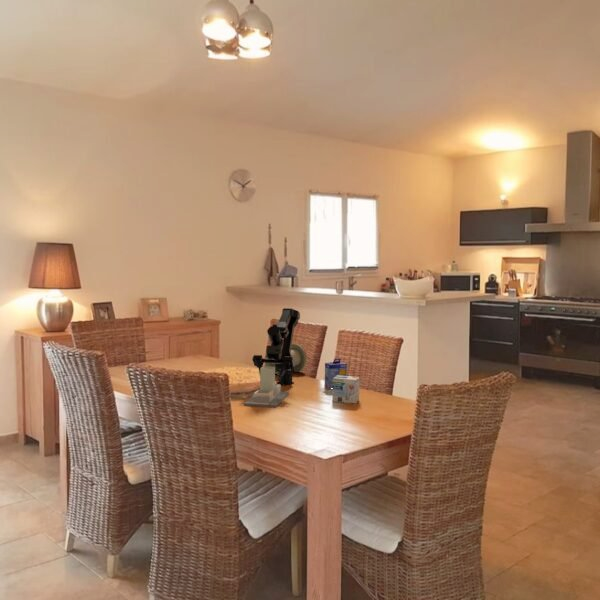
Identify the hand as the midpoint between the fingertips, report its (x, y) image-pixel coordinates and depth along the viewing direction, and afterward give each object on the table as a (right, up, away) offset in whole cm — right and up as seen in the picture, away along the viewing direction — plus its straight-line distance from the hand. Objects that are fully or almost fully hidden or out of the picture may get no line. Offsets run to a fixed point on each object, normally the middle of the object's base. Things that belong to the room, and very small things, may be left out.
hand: (270, 376), depth 285 cm
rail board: (-1, -10, -4) cm, 10 cm away
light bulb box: (+34, -10, -5) cm, 36 cm away
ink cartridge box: (+31, -8, +22) cm, 38 cm away
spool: (+6, -5, +57) cm, 57 cm away
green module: (-1, -8, -4) cm, 9 cm away
